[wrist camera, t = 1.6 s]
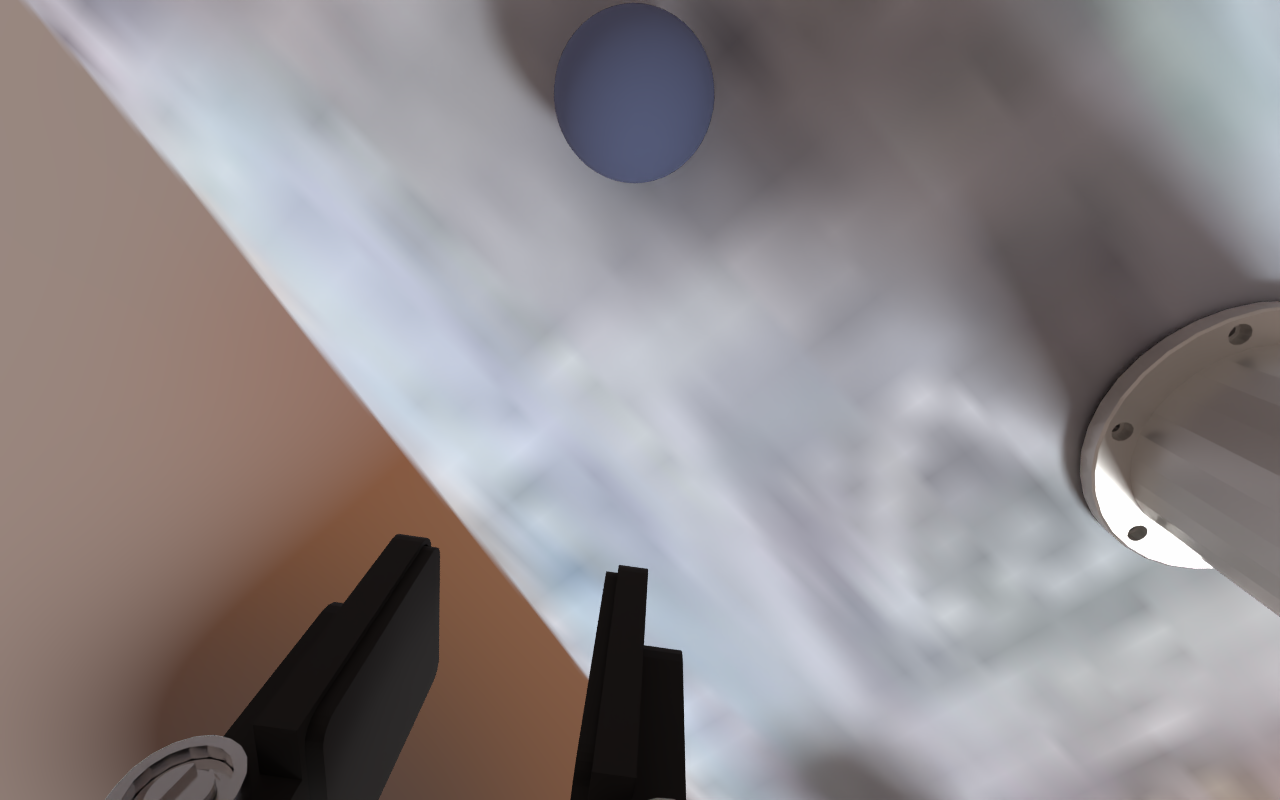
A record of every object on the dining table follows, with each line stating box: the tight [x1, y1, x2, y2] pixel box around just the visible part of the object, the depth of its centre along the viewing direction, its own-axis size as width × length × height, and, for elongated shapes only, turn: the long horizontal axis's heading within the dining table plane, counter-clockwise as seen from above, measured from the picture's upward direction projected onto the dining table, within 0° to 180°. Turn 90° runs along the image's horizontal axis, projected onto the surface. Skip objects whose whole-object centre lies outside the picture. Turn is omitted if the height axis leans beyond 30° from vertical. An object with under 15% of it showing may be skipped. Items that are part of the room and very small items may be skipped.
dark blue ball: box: [554, 3, 714, 183], centre depth 21 cm, size 6×6×6 cm
